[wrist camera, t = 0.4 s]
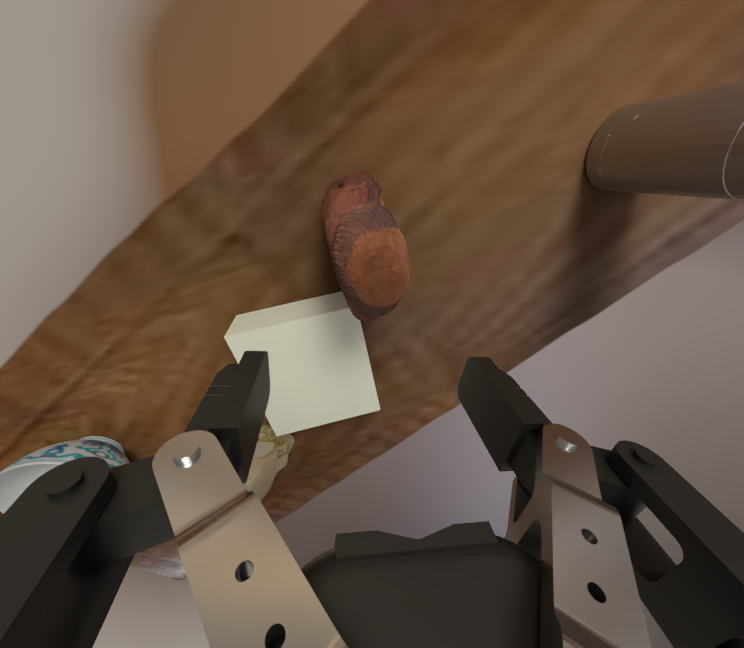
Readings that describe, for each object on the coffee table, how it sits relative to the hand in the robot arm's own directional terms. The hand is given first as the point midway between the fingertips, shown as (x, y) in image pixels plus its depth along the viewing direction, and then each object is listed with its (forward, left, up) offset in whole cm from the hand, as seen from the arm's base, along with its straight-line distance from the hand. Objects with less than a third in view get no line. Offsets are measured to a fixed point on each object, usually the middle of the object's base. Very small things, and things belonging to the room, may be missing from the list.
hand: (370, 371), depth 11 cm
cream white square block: (+8, +16, -28) cm, 33 cm away
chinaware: (+45, +24, -28) cm, 58 cm away
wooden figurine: (-2, -1, -28) cm, 28 cm away
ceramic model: (+22, +33, -28) cm, 49 cm away
